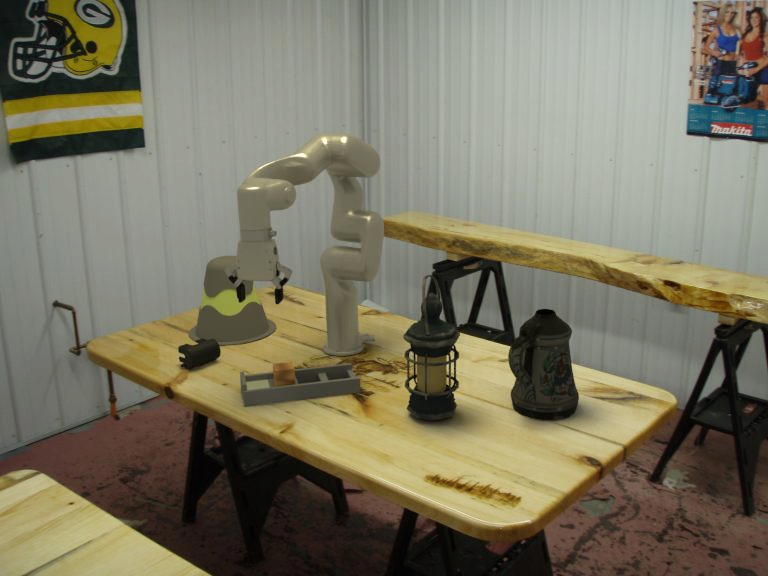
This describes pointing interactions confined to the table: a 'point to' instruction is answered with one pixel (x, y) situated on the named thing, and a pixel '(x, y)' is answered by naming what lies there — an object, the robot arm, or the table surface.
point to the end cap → (199, 353)
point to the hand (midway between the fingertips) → (260, 301)
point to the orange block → (284, 374)
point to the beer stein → (543, 368)
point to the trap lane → (300, 385)
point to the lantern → (431, 360)
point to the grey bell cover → (229, 309)
